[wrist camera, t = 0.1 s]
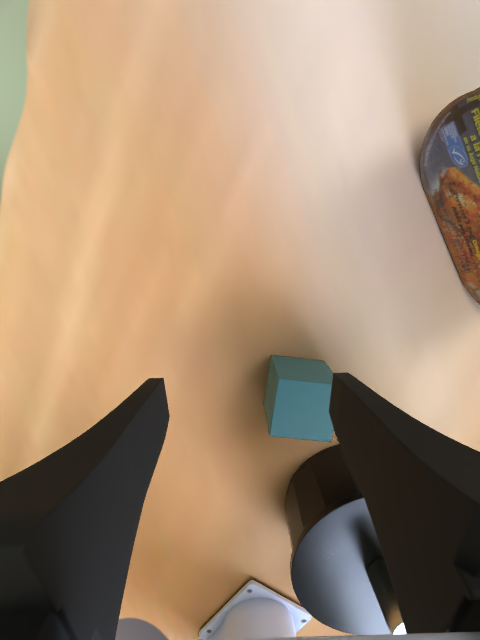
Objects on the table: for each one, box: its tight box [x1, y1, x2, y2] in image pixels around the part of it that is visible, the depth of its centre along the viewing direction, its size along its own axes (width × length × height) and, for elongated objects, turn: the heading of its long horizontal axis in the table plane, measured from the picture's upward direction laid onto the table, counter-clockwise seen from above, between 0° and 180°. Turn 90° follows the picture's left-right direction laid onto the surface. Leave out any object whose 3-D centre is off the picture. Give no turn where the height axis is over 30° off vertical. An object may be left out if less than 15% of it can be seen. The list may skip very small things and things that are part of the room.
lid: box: [290, 492, 406, 635], centre depth 19 cm, size 14×14×5 cm
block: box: [264, 355, 334, 442], centre depth 21 cm, size 4×4×4 cm
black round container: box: [285, 444, 361, 551], centre depth 23 cm, size 13×13×5 cm
